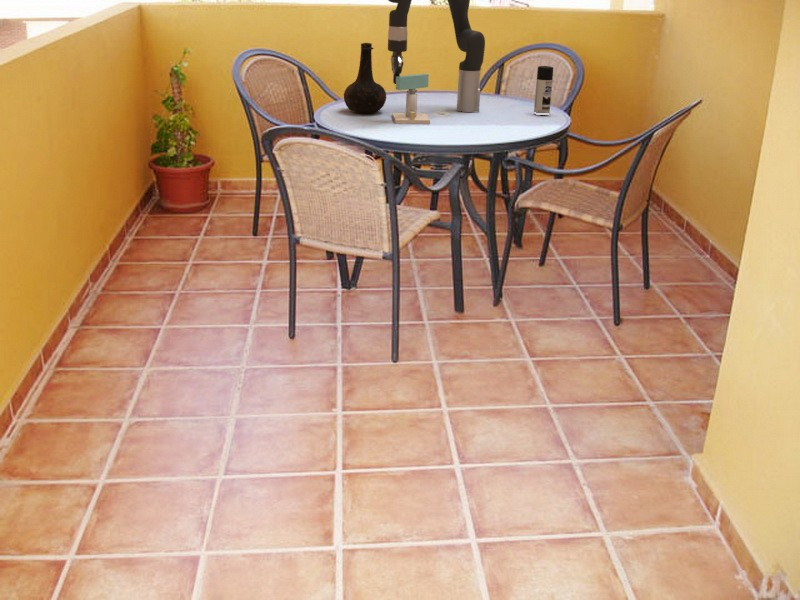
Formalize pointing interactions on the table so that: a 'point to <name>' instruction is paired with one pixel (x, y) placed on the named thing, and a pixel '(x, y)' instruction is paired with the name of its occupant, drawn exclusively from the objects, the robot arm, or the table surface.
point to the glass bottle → (365, 87)
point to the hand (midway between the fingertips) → (396, 83)
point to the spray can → (543, 89)
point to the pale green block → (412, 82)
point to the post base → (411, 113)
